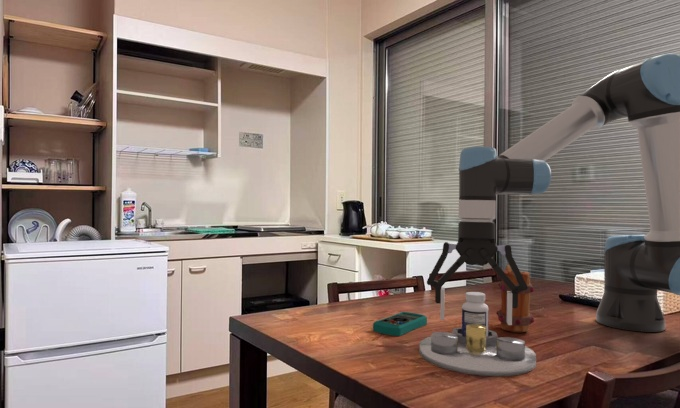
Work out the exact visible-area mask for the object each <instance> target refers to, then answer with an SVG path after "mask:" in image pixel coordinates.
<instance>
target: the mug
mask: <svg viewBox="0 0 680 408" xmlns="http://www.w3.org/2000/svg"><path fill="white" fill-rule="evenodd" d="M519 271H520V273H521V275H522V277H523V279H524V281H525V283H526V285H527V287H528V289H527V290H523V291H520V292H519V293H518V307H517V308H512V325H508V324H507V291H511V289H510V288H509V287H508V286H507V284H506V283H505V282H504V281H503V280H502V279H501V281H500V282H499V283H498V285H497V286H498V287H499V290H500V293H501V294H500V296H501V309H499V310H497V311H496V312H495V313H496V315H497V317H498V319H497V320H498V321H499V322H500V328H501V329H502V330H503V331H506V332H508V333H509V332H510V333H515V334H516V333H517V334H519V333H520V334H522V333H525V332H528V331H529V329H530V325H532V324H533V323H534V322H535V319H534V318H533V316H534V315H533V314H532V312H530V302H531V301H530V300H531V293H533V292H534V291H535V288H534V286H533V284H531V274H530V272H528V271H521V270H519ZM503 272H504V273H505V274H506V275H507V276H508V278H509V279H510V280H511V281H512V282H513V283H514V285H518V282H517V280H516V278H515V276H514V274H513V272H512V270H511V268H510V266H509V264H506V266H505V270H503Z"/></svg>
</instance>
